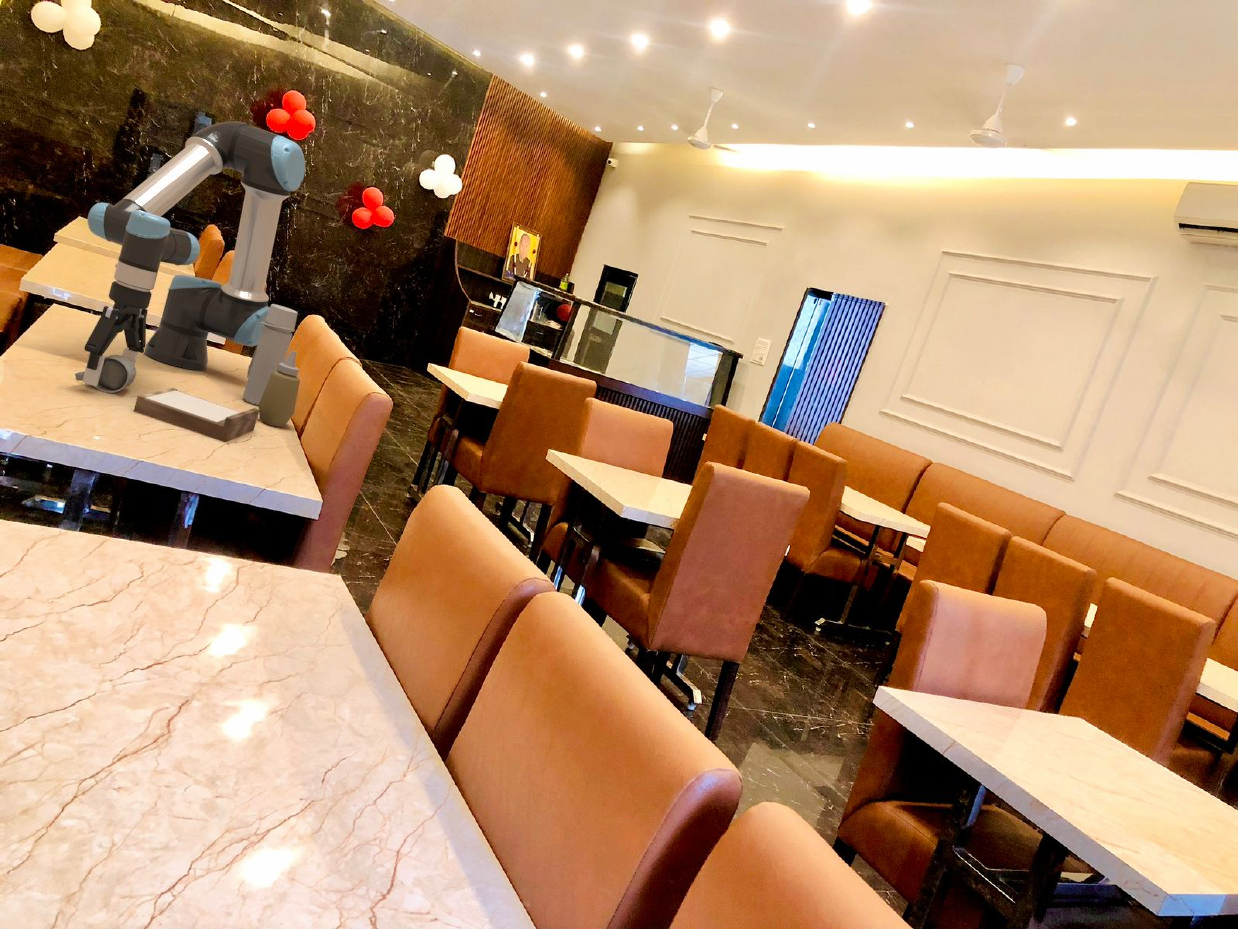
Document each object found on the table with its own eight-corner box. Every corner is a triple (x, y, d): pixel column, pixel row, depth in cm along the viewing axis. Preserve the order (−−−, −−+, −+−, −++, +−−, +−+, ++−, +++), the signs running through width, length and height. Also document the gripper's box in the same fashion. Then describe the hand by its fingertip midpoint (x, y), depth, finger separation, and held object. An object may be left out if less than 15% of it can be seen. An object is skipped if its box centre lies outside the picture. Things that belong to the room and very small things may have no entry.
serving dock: (169, 401, 195) (175, 380, 194) (253, 430, 197) (259, 409, 196) (133, 411, 179) (139, 388, 178) (225, 442, 181) (231, 419, 180)
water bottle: (278, 408, 224) (306, 315, 220) (254, 407, 217) (282, 310, 213) (253, 396, 228) (280, 304, 224) (229, 394, 220) (256, 298, 216)
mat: (175, 391, 194) (175, 390, 193) (242, 414, 195) (242, 413, 195) (144, 398, 180) (144, 397, 180) (216, 422, 181) (216, 422, 181)
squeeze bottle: (260, 415, 212) (281, 344, 209) (293, 426, 213) (315, 355, 210) (249, 419, 204) (271, 346, 201) (283, 431, 205) (305, 358, 202)
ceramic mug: (133, 390, 194) (141, 357, 192) (124, 397, 186) (132, 363, 185) (80, 376, 190) (88, 342, 189) (68, 383, 182) (76, 347, 181)
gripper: (144, 280, 196) (119, 370, 199) (81, 277, 172) (55, 380, 175) (177, 292, 197) (152, 381, 200) (119, 291, 172) (92, 392, 176)
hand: (107, 381), depth 188 cm, fingers open, 13 cm apart
